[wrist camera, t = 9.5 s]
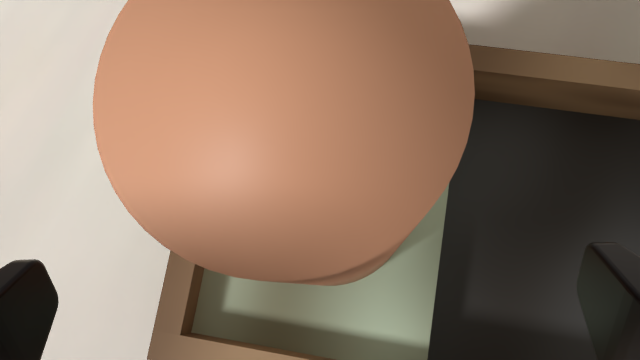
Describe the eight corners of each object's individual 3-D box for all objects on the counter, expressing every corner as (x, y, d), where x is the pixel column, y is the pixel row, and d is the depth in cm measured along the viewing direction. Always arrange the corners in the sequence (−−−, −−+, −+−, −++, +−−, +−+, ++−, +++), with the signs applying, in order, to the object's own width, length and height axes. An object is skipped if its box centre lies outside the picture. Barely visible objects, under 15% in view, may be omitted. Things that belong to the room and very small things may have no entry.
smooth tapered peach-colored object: (439, 227, 16) (558, 132, 6) (306, 317, 16) (214, 364, 6) (350, 103, 17) (332, -146, 7) (224, 186, 17) (30, 44, 7)
